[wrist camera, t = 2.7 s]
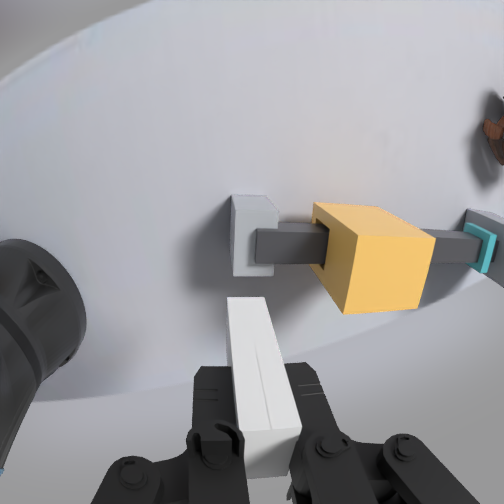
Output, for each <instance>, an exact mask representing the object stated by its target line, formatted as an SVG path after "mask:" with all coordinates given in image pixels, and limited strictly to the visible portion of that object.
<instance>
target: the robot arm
mask: <svg viewBox="0 0 504 504" xmlns="http://www.w3.org/2000/svg"><path fill="white" fill-rule="evenodd" d="M85 331H86V312H85V307H84V304H83V300H82V298H81V295H80V293H79V290H78V288H77V286H76V284H75V283H74V281H73V279H72V278H71V276H70V275H69V273H68V272H67V271H66V269H65V268H64V267H63V266H62V265H61V264H60V262H59V261H58V260H57V259H56V258H55V257H53V256H52V255H51V254H50V253H49V252H47V251H46V250H44V249H43V248H41V247H40V246H38V245H36V244H34V243H31V242H29V241H25V240H21V239H9V240H5V241H2V242H0V476H1V474H2V473H3V471H4V468H3V466H4V464H5V461H6V459H7V456H8V453H9V451H10V448H11V446H12V443H13V441H14V439H15V437H16V434H17V432H18V430H19V427H20V425H21V423H22V421H23V419H24V417H25V414H26V412H27V410H28V408H29V406H30V404H31V402H32V400H33V398H34V396H35V393H36V391H37V390H38V388H39V386H40V384H41V382H42V381H44V380H45V379H46V378H48V377H49V376H50V375H51V374H53V373H54V372H55V371H56V370H57V369H58V368H59V367H61V366H63V365H64V364H66V363H67V362H68V361H70V360H71V359H72V357H73V356H74V355H75V353H76V352H77V350H78V348H79V346H80V344H81V342H82V340H83V338H84V335H85ZM226 353H227V366H201V367H200V369H199V370H198V372H197V373H196V375H195V376H194V391H193V415H192V429H191V430H190V431H189V432H188V435H187V438H186V444H187V449H186V450H185V452H184V453H183V454H181V455H179V456H177V457H175V458H172V459H169V460H164V461H159V462H154V463H152V462H151V461H149V460H147V459H145V458H143V457H137V456H128V457H122V458H120V459H119V460H117V461H115V462H114V463H113V464H112V465H111V466H110V468H109V469H108V471H107V473H106V475H105V477H104V479H103V481H102V483H101V485H100V487H99V489H98V491H97V493H96V495H95V496H94V499H93V501H92V502H91V504H250V502H249V494H248V487H247V479H255V478H269V477H279V476H287V474H288V471H289V469H290V474H291V478H292V482H291V485H290V488H289V490H288V493H287V500H290V499H291V497H292V502H293V504H480V503H479V502H478V501H477V500H476V499H475V498H474V497H473V496H472V495H471V494H470V493H469V491H468V490H467V489H465V487H464V486H463V485H462V484H461V483H460V482H459V481H458V480H457V479H456V478H455V477H454V476H453V475H452V473H450V471H449V470H448V469H447V468H446V467H445V466H444V465H443V464H442V463H441V462H440V461H439V460H438V459H437V458H436V456H435V455H434V454H433V453H432V452H431V451H430V450H429V449H428V448H427V447H426V446H425V445H424V444H423V442H422V441H420V440H419V439H418V438H416V437H415V436H412V435H409V434H397V435H394V436H391V437H390V438H389V439H388V440H386V442H385V443H384V444H373V443H372V444H371V443H361V442H356V441H354V440H351V439H350V438H349V436H347V435H345V434H344V433H343V432H341V431H340V430H339V428H338V426H337V424H336V421H335V419H334V416H333V414H332V411H331V409H330V406H329V404H328V401H327V399H326V396H325V394H324V391H323V389H322V386H321V385H320V381H319V379H318V376H317V374H316V371H314V370H313V369H312V368H311V367H310V366H309V365H308V364H307V363H306V362H302V363H287V364H284V363H283V360H282V356H281V353H280V349H279V346H278V342H277V339H276V336H275V332H274V329H273V325H272V322H271V319H270V315H269V312H268V308H267V305H266V301H265V298H264V297H227V337H226Z"/></svg>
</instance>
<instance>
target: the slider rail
mask: <svg viewBox="0 0 504 504" xmlns="http://www.w3.org/2000/svg"><path fill="white" fill-rule="evenodd" d="M278 217H279V210H278V209H277V208H276V207H275V205H274V204H273V203H272V202H271V201H270V199H269V198H268V197H267V196H258V195H232V197H231V222H230V257H231V264H232V271H233V276H273V275H274V264H325V260H326V254H327V247H328V239H329V232H330V229H329V228H328V227H327V226H326V225H324V224H315V223H285V222H278ZM420 230H422V231H424V232H426V233H427V234H429V235H431V236H433V237H434V238H436V240H435V245H434V249H433V253H432V258H431V262H430V263H466V264H467V265H469V266H470V267H472V268H473V269H475V270H476V271H478V272H479V273H483V274H484V275H486V276H487V277H489V278H490V279H492V280H493V281H495V282H496V283H498V284H499V285H501V286H502V287H503V288H504V218H503V217H500V216H498V215H496V214H493V213H491V212H486V211H479V210H473V209H467V212H466V217H465V222H464V227H463V232H460V231H446V230H431V229H420Z"/></svg>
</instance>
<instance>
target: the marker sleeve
mask: <svg viewBox="0 0 504 504" xmlns="http://www.w3.org/2000/svg"><path fill="white" fill-rule="evenodd" d="M311 223H315V224H324V225H326V226H327V227H328V228H329V229H330V232H329V239H328V247H327V254H326V260H325V264H309V266H310V267H311V268H312V270H313V271H314V273H315V274H316V276H317V277H318V278H319V280H320V281H321V283H322V284H323V286H324V287H325V289H326V290H327V292H328V293H329V295H330V296H331V297H332V299H333V300H334V302H335V303H336V305H337V306H338V308H339V309H340V311H341V312H342V314H343V315H344V314H359V313H372V312H384V311H395V310H406V309H416V308H418V304H419V301H420V298H421V295H422V291H423V288H424V284H425V281H426V277H427V273H428V269H429V266H430V262H431V258H432V253H433V249H434V245H435V240H436V238H434V237H433V236H431V235H429V234H427V233H426V232H424V231H422V230H420V229H418V228H417V227H415V226H413V225H411V224H409V223H407V222H405V221H404V220H402V219H400V218H398V217H396V216H394V215H392V214H390V213H388V212H386V211H385V210H383V209H381V208H379V207H375V206H362V205H349V204H334V203H317V202H314V203H313V213H312V222H311Z"/></svg>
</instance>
